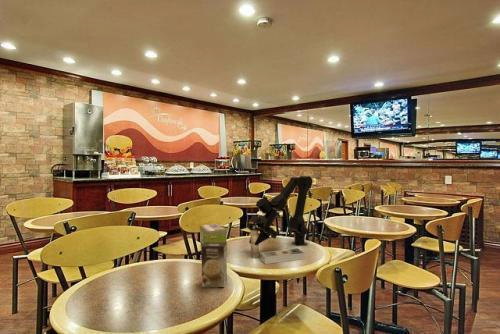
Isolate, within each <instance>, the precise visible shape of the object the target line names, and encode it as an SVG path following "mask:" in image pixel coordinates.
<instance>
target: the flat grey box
mask: <svg viewBox="0 0 500 334" xmlns="http://www.w3.org/2000/svg"><path fill="white" fill-rule="evenodd" d="M305 255H306V254H305V252H303V251H302V250H301V249H299V248H290V249H281V250H272V251H264V252H263V251H262V252H259V257H260V260H261V261H262V262H263V263H264V265H269V264H273V263H274V264H277V263H285V262H291V261H292V262H294V261H300V260H305V258H306V256H305Z"/></svg>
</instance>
